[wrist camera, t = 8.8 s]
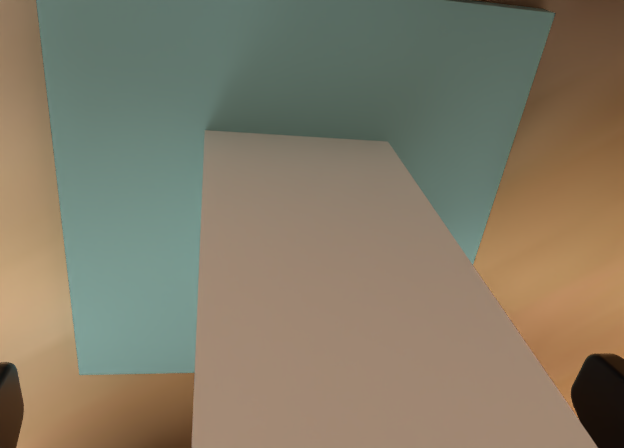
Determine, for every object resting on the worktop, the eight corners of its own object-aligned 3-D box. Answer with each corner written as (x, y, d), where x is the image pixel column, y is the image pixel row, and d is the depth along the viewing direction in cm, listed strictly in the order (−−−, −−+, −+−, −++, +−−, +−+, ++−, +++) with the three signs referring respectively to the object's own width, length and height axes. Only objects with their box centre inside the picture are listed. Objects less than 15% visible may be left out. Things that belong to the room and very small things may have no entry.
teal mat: (433, 356, 17) (439, 367, 16) (83, 361, 15) (79, 375, 14) (543, 8, 12) (555, 13, 11) (38, -52, 10) (30, -49, 9)
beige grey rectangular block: (359, 287, 14) (523, 739, 7) (197, 286, 14) (176, 796, 6) (390, 139, 12) (676, 547, 5) (202, 127, 12) (178, 594, 4)
